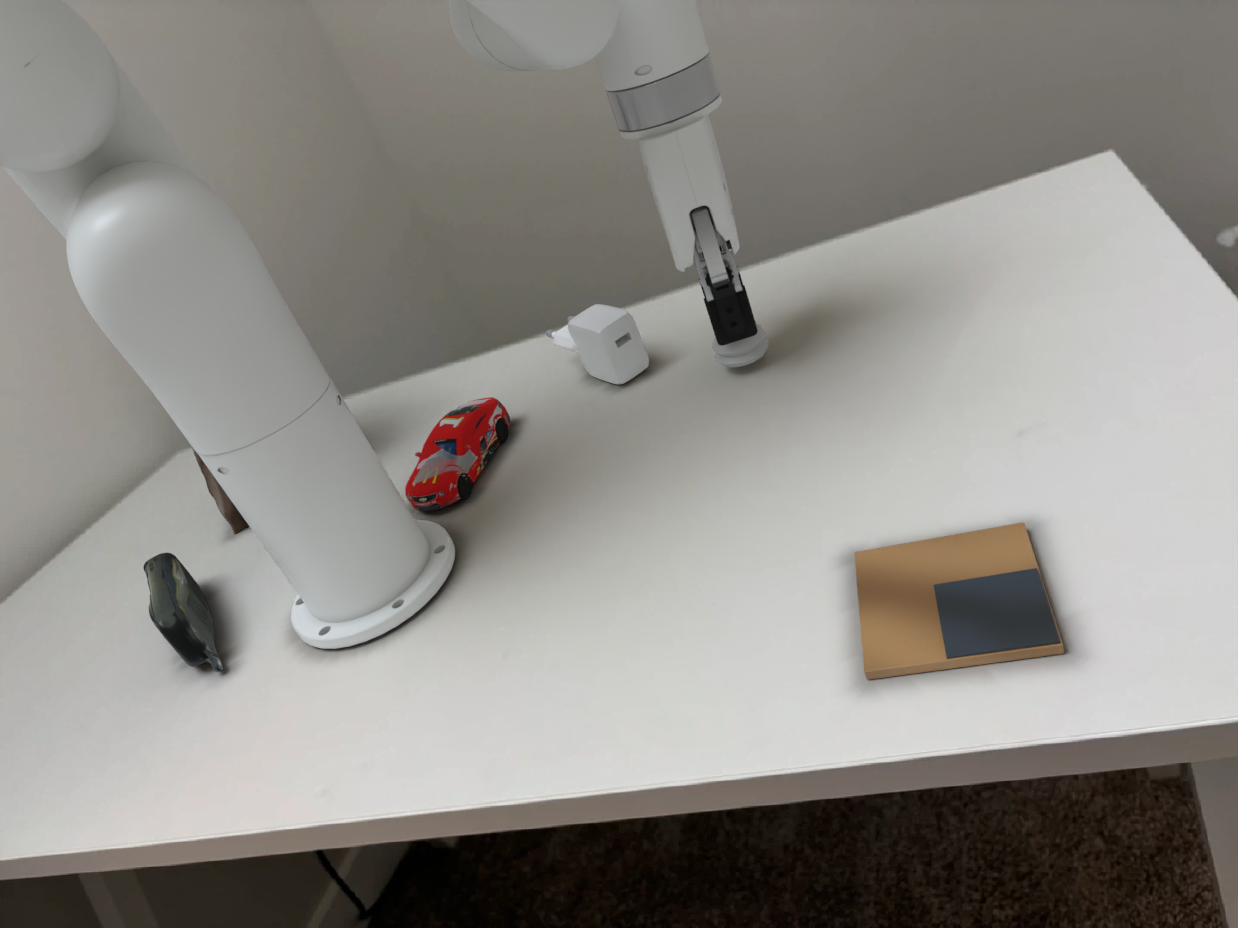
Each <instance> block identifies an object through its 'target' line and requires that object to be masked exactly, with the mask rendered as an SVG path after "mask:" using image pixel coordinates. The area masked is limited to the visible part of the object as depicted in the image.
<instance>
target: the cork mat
mask: <svg viewBox="0 0 1238 928" xmlns="http://www.w3.org/2000/svg"><path fill="white" fill-rule="evenodd" d="M1025 523H1026V522H1024V521H1023V522H1017V523H1012V524H1005V525H1000V526H994V527H989V528H983V529H977V530H971V531H966V532H961V533H954V534H949V535H944V536H937V537H932V538H926V539H921V540H915V541H909V542H904V543H899V544H892V545H887V546H881V547H876V548H875V547H874V548H871V549H870V548H869V549H864V550H859V551H855V552H854V554H853V555H854V567H855V578H856V579H855V580H856V590H857V591H856V592H857V602H858V603H857V604H858V613H859V626H860V638H861V650H862V662H863V674H864V676H865V679H866V680H867V681H869V680H876V679H883V678H884V679H885V678H892V677H898V676H906V675H913V674H921V673H927V672H928V673H929V672H936V671H937V672H938V671H944V670H949V669H958V668H966V667H972V666H973V667H974V666H980V665H988V664H996V663H1002V662H1003V663H1004V662H1010V661H1011V662H1012V661H1019V660H1025V659H1026V660H1027V659H1034V658H1041V657H1047V656H1055V655H1062V654H1064V653H1065V649H1064V648H1065V647H1064V643H1063V640H1062V636H1061V634H1060V631H1059V627H1058V625H1057V621H1056V618H1055V615H1054V612H1053V608H1052V605H1051V603H1050V599H1049V596H1048V593H1047V590H1046V586H1045V583H1044V581H1043V578H1042V577H1043V576H1042V574H1041V571H1040V568H1039V567H1040V566H1039V565H1038V564H1039V563H1038V562H1037V558H1036V554H1035V553H1034V549H1033V546H1032V542H1031V539H1030V536H1029V533H1028V530H1027V526H1026V524H1025Z"/></svg>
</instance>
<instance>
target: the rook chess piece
mask: <svg viewBox="0 0 1238 928" xmlns="http://www.w3.org/2000/svg"><path fill="white" fill-rule="evenodd" d="M724 265H725V267H728V264H727V261H726V262H725V263H724ZM728 268H729V267H728ZM736 269H737V273H738V274H739V272H740V270H741V269H740V268H739V266H738V267H736ZM705 271H706V274H707V273H709V272H708V268H706V270H705ZM732 282H733V281H732ZM698 284H699V285H700V287H701V286H702V282H701V279H700V280H699V279H698ZM702 287H703V286H702ZM734 288H735V287H734ZM711 291H712V290H711ZM754 320H755V318H754ZM755 323H756V327H757V330H758V331H757V334H756V335H754V336H752V337H748V338H745V339H742V340H739V341H736V342H733V343H729V344H726V345H723V346H721V345H719V344H718V343H717V340H716V337H715V334H714V333H713V335H714V338H713V340H712V345H711V346H712V349H713V352H715V355H714V359H715V360H716V362H717V363H719V364H720V365H721V366H723V367H726V368H739V367H745V366H747V365H750V364H753V363H755V362H756V361H758V360H760V359H761V358H762V357H763V356H764V355H765V354H766V352H767V349H768V348H769V344H770V342H769V340H768V338H766V337H765V335H766V332H765V330H764V328H763V327H762V326H761V324H758V323H757V321H756V320H755Z"/></svg>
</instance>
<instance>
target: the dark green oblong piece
mask: <svg viewBox="0 0 1238 928" xmlns="http://www.w3.org/2000/svg"><path fill="white" fill-rule="evenodd" d="M142 568H143V571H144V573H145V575H146V579H147V585H148V590H149V603H148V615H149V618H150V620H151V622H152V623H153V625H154V626H155V627H156V629H157V630H158V631H159V632H160V634H161V635H162V636H163V638H164V640H166V642H167V643H168V644H169V645H170V646H171V647H172V648H173V650H174V651H175V652H176V653H177V655H178V656H179V657H180V658H181V659H182V661H183V662H184V663H186V664H187V665H188V666H189V667H191V668H196V667H198V666H200V665H202V664H204V663H209V664H211V668H212V669H213V671H214V672H215V673H221V672H222V671H223V670H224V664H223V663H222V660H221V659H220V657H219V654H218V652H217V649H216V644H215V640H214V629H215V626H214V620H213V618H212V616H211V613H210V608H209V605H208V603H207V601H206V598H205V597H204V596H205V595H204V593H203V591H202V589H201V587H200V585H199V584H198V583H197V581H196V579H195V578H194V577H193V576H192V575H191V573H190V572H189V571H188V569H187V568H186V567H185V565H184V564H183V563H182V562H181V561H180V560H179V558H178V557H177V556H176V555H175V554H173V553H172V552H162V553H159V554H156V555H154V556H153V557H151V558H149V559H148V560H146V561H145V562H144V564H143V567H142Z"/></svg>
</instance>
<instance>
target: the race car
mask: <svg viewBox="0 0 1238 928" xmlns="http://www.w3.org/2000/svg"><path fill="white" fill-rule="evenodd" d="M510 425H511V416H510V414H509V413H508V410H507V408H506V406H504V404H503V403H502V402H501V401H500V400H499V399H498V398H495V397H493V396H491V397H483V398H477V399H473V400H469V401H467V402H464V403H463V404H461V405H459V406H458V407H456V408H453V409H451V410H450V411H449V412H447V413H446V414H445V415H444V416H442V418H441V419H439V420H438V422H437V423H436V425H435V426H434V427H433V428H432V430H431V431H430V433H429V434H428V436H427V438H426V440H425V442H424V444H423V446H422V449H421V452H420V451H417V452H415V453H414V455H415V457H418V462H417V463H416V466H415V467H414V469H413V471H412V473H411V475H410V477H409V478H408V480H407V482H406V484H405V488H404V489H405V493H404V494H405V497H406V499H407V501H408V502H409V503H410V505H411V506H412V508H414V509H415V510H416V511H419V512H430V511H435V510H438V509H442V508H445V507H447V506H450V505H452V504H454V503H456V502H458V501H459V500H462V499H463V500H464V499H468V498H469V497H470V496H471V493H472V489H473V488H472V484H473V483H475V482H476V480H477V479H478V477H479V476H480V474H481V473H482V472H483V469H484V468H485V466H486V465H487V463H488V461H490V459H491V458H492V455H493V454H494V453H495V451H496V449H497V448H498V447H499V446H500V444H501V443H502V442H505V441H506V440H507V439H508V436H509V428H510Z"/></svg>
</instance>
